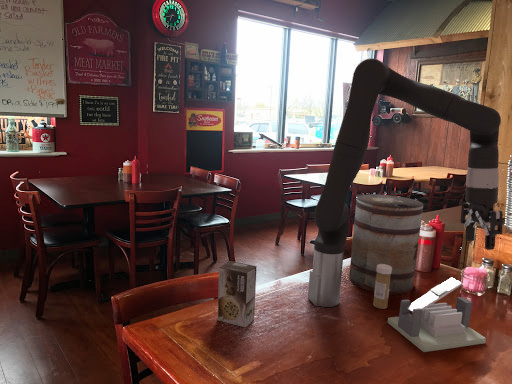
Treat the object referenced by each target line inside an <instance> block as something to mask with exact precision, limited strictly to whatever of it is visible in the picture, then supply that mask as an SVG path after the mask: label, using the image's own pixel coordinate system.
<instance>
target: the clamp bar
mask: <svg viewBox="0 0 512 384" xmlns="http://www.w3.org/2000/svg"><path fill="white" fill-rule="evenodd" d="M461 286H463V285H462V282H461V281H459V280H456V279H455V278H453V277H450V278H449V279H447V280H446V281H444V282H442V283H441V284H436V285H435V286H434V287H432V288H431V289H430V290H429V291H427V293H425V294H423V295H422V296H421V297H419V298H417V299H416V300H414V301H413V302H410V305H408V306H407V307H406V308H407V309H408V310H409V312H411V313H412V312H413V309H415V308H421V309H422V310H424V309H425V308H427V307H428V306H430V305H432V304H436V302H438V301H439V300H441V299H442V298H444V297H446V296H447V295H449V294H450V293H452V292H453V291H456V289H458V288H459V287H461Z"/></svg>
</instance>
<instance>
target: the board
mask: <svg viewBox="0 0 512 384" xmlns="http://www.w3.org/2000/svg"><path fill="white" fill-rule="evenodd" d="M410 304H411V300H409V299H402V300H401V299H400V304H399V305H400V307H399V314H398V316H392V317H390V316H389V317H388V318H387V324H389V326H391V327H392V328H394V329H395V330H396V332H397V331H398V332H399V333H400V334H401V335H402V336H403V337H405V338H406V339H407V340H408V341H409V342H411V343H412V344H413V345H414V346H415V347H417V348H418V349H419V350H420V351H421V352H422V353H427V352H429V353H430V352H434V351H442V350H447V349H449V350H450V349H454V348H463V347H467V346H475V345H481V344H482V345H483V344H485V343H486V341H487V340H486V337H485V336H483V335H482V334H480V333H479V332H477V331H475V330H474V329H473V328H471V327H470V319H471V313H472V306H473V301H471V300H469V299H468V298H466V297H464V296H460V297H457V298H456V304H455V308H453V306H452V305H448V303H447V302H438V303H433V304H432V305H430V306H428V307H427V308H425V309H424V310H422V309H421V308H415V309H413V312H411V313H410V311H409V310H408V309H407V308H406V307H407V306H408V305H410Z"/></svg>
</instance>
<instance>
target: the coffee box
mask: <svg viewBox="0 0 512 384" xmlns="http://www.w3.org/2000/svg"><path fill="white" fill-rule="evenodd" d="M256 282H257V265H252V264H247V263H244V262H243V263H242V262H238V261H232V260H228V261H227V262H225V263H224V264H222V265H221V266H219V267H218V301H217V302H218V303H217V304H218V305H217V306H218V307H217V321H219V322H223V323H227V324H231V325H234V326H238V327H241V328H246V327H248V326H249V325H250V324H251V323H252V322H253V321H254V320H255V313H256V312H255V311H256V310H255V308H256V289H257V288H256V287H257V283H256Z"/></svg>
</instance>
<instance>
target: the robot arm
mask: <svg viewBox="0 0 512 384" xmlns="http://www.w3.org/2000/svg"><path fill="white" fill-rule="evenodd" d="M379 95H381V96H385V97H388V98H389V97H390V98H393V99H396V100H398V101H402V102H404V103H406V104H408V105H411V106H412V107H414V108H416V109H418V110H420V111H422V112H423V113H426V114H428V115H431V116H433V117H435V118H438V119H440V120H443V121H445V122H449V123H452V124H455V125H457V126H459V127H461V128H463V129H465V130H467V131H469V149H468V159H467V171H466V178H465V179H466V181H465V201H466V202H462V203H461V209H460V210H461V212H460V223H461V224H462V225H463V226H464V228H465V241H468V242H473V241H475V238H476V237H475V236H476V233H475V232H476V225H477V224H479V225H480V227H481V228H483V231H484V233H485V235H484V236H485V237H484V249H485V250H487V251H488V250H489V251H490V250H495V246H496V236H499V235H502V234H503V217H504V216H503V211H502V210H495V209H494V205H495V204H497V203H498V202H499V183H500V182H499V179H500V174H499V163H500V162H499V157H500V155H499V153H500V151H499V145H498V144H499V135H500V126H501V125H502V124H501V123H502V118H501V115H500V113H499V112H498V111H497V110H496V109H495V108H493V107H489V106H488V105H484V104H482V103H478V102H475V101H473V100H469V99H466V98H465V97H462V96H460V95H458V94H455V93H453V92H451V91H448V90H444V89H442V88H440V87H437V86H433V85H430V84H428V83H427V84H426V83H422V82H419V81H417V80H414V79H412V78H410V77H409V78H408V77H407V76H404V75H402V74H400V73H399V72H398V71H396V70H394V69H392V68H391V67H389V66H388V65H387V64H386V63H385V62H384V61H381V60H379V59H377V58H373V57H372V58H365V59H364V60H362V61H361V62H359V63H358V64H357V65H356V67H355V69H354V71H353V75H352V81H351V86H350V90H349V96H348V97H349V98H348V103H347V107H346V109H345V112H344V115H343V117H342V121H341V124H340V127H339V131H338V134H337V137H336V140H335V144H334V148H333V150H332V155H331V159H330V163H329V166H328V171H327V173H326V179H325V182H324V186H323V188H322V191H321V195H320V196H319V198H318V201H317V203H316V206H315V208H314V212H313V221H314V223H315V226H316V227H317V228H318V232H317V235H316V238H315V240H314V243H313V244H314V247H313V256H312V257H313V258H312V259H313V260H312V270H311V269H310V270H309V276H308V277H309V279H308V290H307V291H308V292H307V299H308V300H309V301H310V302H311V303H312V304H313V306H315V307H318V306H320V307H326V308H330V307H331V308H332V307H335V306H338V305H339V303H340V298H341V287H342V286H341V285H342V276H343V265H344V263H343V262H344V252H345V245H346V242H347V239H348V234H349V233H348V231H349V225H350V210H349V207H348V204H347V203H346V201H347V197H348V194H349V191H350V189H351V186H352V185H353V182H354V181H355V180H356V177H357V176H358V174H359V173H360V170H361V168H362V166H363V163H364V160H365V157H366V153H367V151H368V147H369V143H370V139H371V138H370V136H371V128H372V126H371V125H372V115H373V112H374V108H375V106H376V102H377V99H378V98H379ZM496 226H497V228H496Z"/></svg>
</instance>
